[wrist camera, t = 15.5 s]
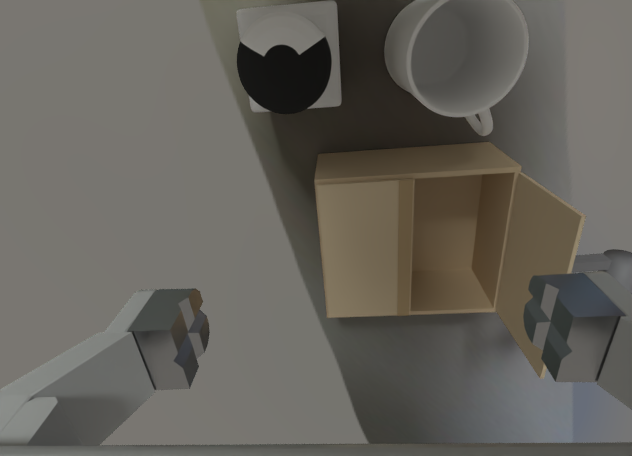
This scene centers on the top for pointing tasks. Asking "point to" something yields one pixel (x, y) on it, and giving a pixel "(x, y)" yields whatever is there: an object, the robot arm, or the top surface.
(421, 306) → the carton
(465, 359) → the top surface
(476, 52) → the mug
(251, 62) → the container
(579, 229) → the near flap
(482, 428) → the top surface
